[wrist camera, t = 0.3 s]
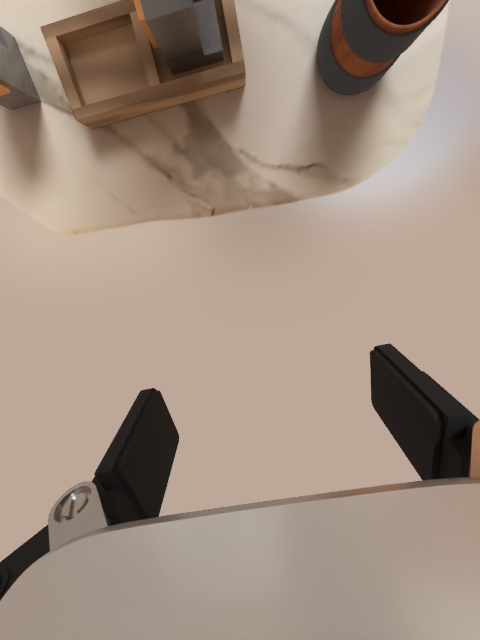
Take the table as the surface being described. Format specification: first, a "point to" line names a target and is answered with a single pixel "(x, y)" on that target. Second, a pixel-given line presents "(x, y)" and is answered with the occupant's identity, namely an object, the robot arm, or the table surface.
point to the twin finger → (182, 32)
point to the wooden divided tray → (133, 64)
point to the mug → (369, 39)
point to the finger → (14, 75)
